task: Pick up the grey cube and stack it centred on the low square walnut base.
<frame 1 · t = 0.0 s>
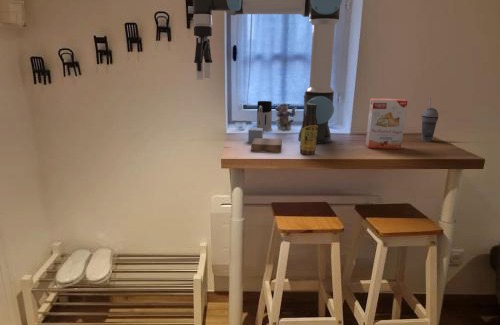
hand: (204, 78, 158), 28 cm above the table, tool pointing down, fingers open, 13 cm apart
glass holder: (262, 131, 194), on the table
grey cube: (255, 142, 168), on the table
beverage cup: (426, 141, 175), on the table
walnut base: (266, 148, 156), on the table
sauce bottle: (307, 153, 148), on the table
cracker box: (383, 147, 160), on the table
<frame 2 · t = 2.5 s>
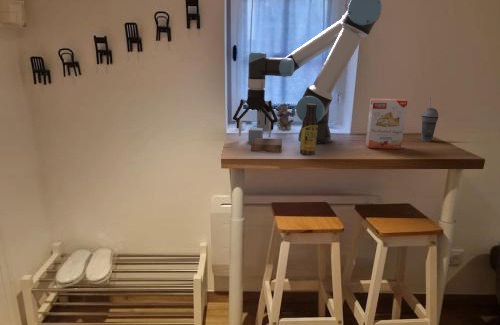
hand: (254, 136, 168), 2 cm above the table, tool pointing down, fingers open, 13 cm apart
nothing on the table moved.
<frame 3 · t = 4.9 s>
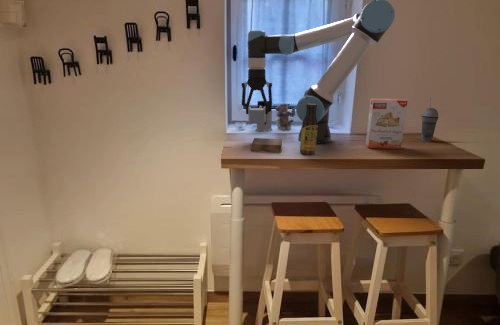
hand: (257, 121, 165), 9 cm above the table, tool pointing down, fingers closed on grey cube, 6 cm apart
grey cube: (257, 122, 166), point 9 cm above the table, touching gripper
everything else where it was.
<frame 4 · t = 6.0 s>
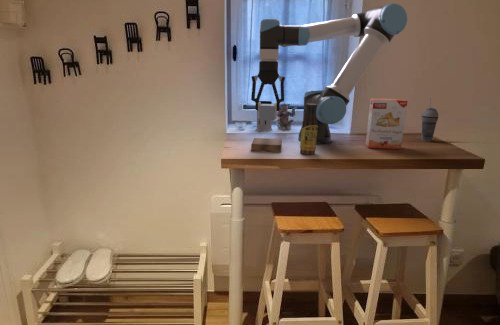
hand: (267, 118, 153), 13 cm above the table, tool pointing down, fingers closed on grey cube, 6 cm apart
grey cube: (267, 119, 153), point 12 cm above the table, touching gripper
everything else where it was.
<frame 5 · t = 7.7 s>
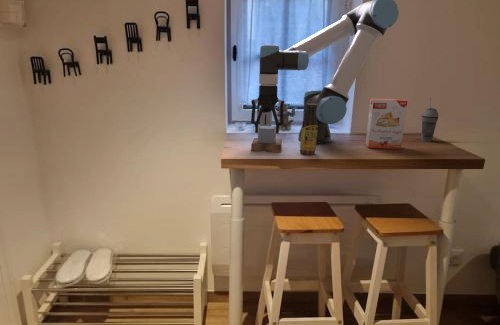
hand: (266, 140, 155), 3 cm above the table, tool pointing down, fingers closed on grey cube, 6 cm apart
grey cube: (266, 141, 155), point 3 cm above the table, touching gripper, walnut base
everything else where it was.
when the fingers open (3 cm above the table, at t = 7.8 s): grey cube stays where it is, resting on walnut base.
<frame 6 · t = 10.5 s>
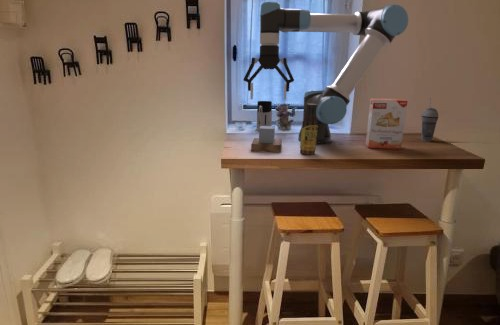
hand: (268, 99, 150), 21 cm above the table, tool pointing down, fingers open, 13 cm apart
grey cube: (266, 141, 155), point 3 cm above the table, touching walnut base
everything else where it was.
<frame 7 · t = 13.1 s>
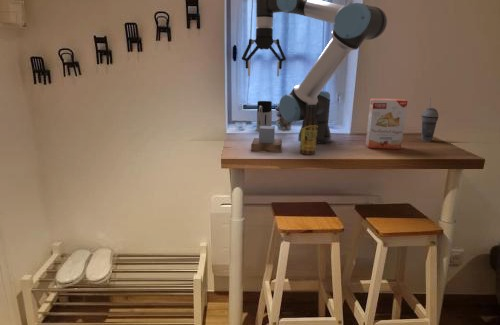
hand: (263, 76, 172), 29 cm above the table, tool pointing down, fingers open, 13 cm apart
nothing on the table moved.
at the end: grey cube inside the target area on the walnut base (0.1 cm from its centre), point 3.0 cm above the walnut base's base; grey cube tilted 0°; the gripper is holding nothing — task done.
